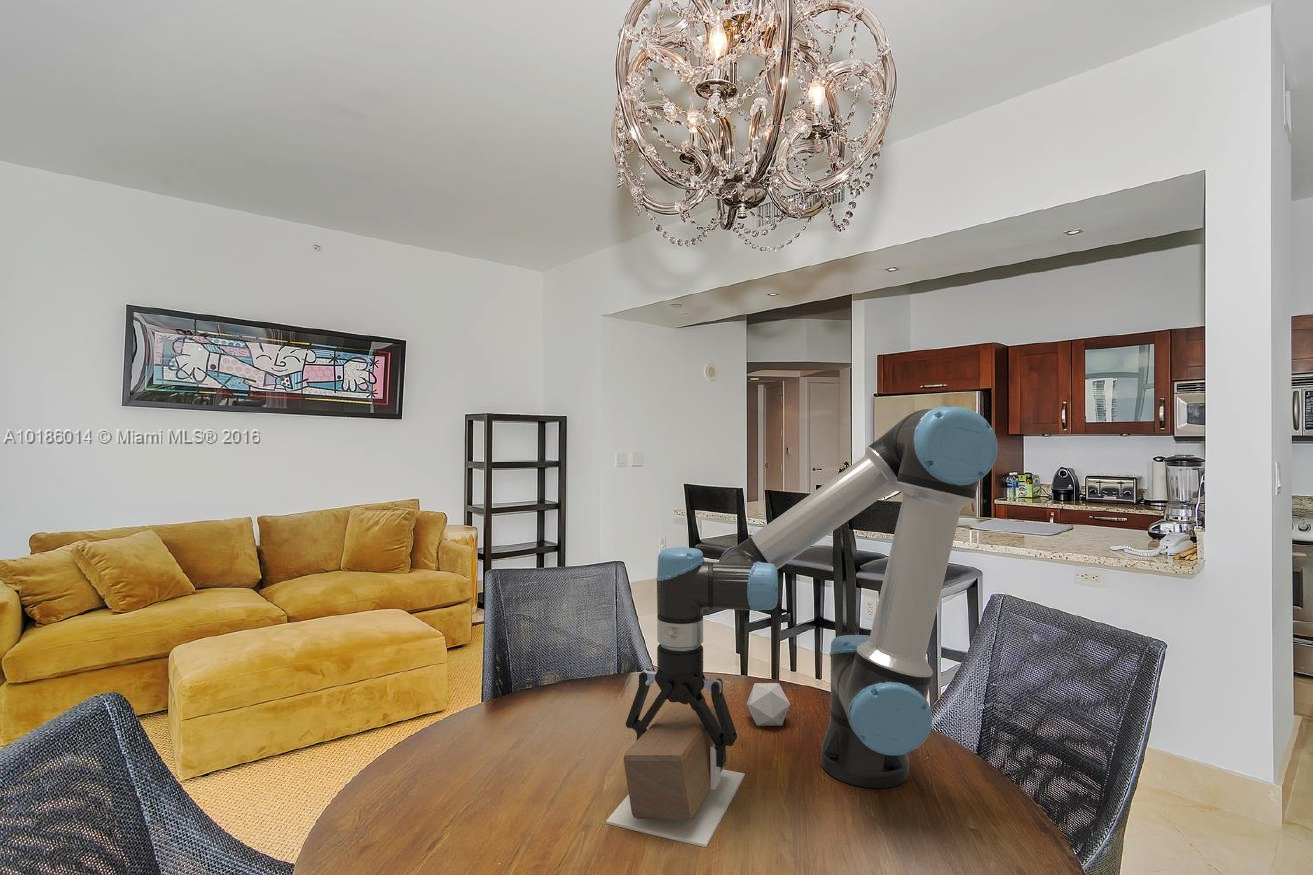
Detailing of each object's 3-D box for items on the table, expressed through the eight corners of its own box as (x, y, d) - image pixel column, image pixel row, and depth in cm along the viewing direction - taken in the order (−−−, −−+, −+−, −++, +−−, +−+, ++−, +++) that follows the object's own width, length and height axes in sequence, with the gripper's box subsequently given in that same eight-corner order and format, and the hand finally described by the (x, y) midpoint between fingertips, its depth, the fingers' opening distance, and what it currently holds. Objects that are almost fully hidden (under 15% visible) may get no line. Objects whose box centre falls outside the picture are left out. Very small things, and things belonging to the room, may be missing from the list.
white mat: (744, 775, 117) (744, 773, 117) (706, 847, 96) (706, 844, 96) (659, 759, 123) (659, 756, 123) (606, 823, 102) (606, 820, 102)
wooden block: (620, 753, 101) (667, 705, 120) (630, 821, 101) (676, 762, 119) (681, 753, 98) (720, 703, 116) (692, 823, 97) (729, 762, 116)
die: (779, 739, 132) (801, 694, 135) (741, 714, 134) (763, 671, 137) (772, 736, 140) (793, 694, 143) (736, 713, 141) (757, 672, 144)
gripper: (605, 642, 110) (605, 775, 110) (744, 660, 102) (745, 804, 102) (624, 630, 117) (624, 755, 117) (756, 645, 108) (756, 780, 108)
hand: (680, 778), depth 109 cm, fingers closed on wooden block, 11 cm apart
